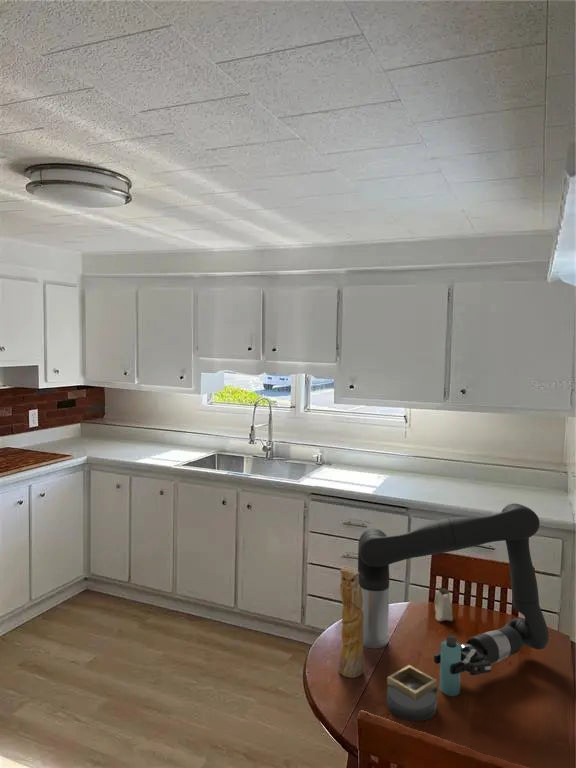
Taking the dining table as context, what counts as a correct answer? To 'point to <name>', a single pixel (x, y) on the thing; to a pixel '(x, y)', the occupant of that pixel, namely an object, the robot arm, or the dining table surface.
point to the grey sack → (443, 605)
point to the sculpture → (351, 625)
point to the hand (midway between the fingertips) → (443, 664)
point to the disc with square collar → (412, 694)
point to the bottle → (448, 658)
